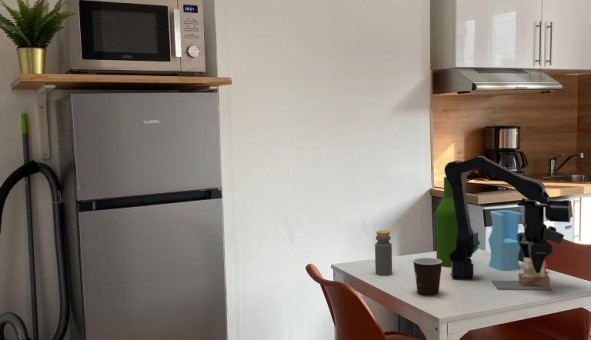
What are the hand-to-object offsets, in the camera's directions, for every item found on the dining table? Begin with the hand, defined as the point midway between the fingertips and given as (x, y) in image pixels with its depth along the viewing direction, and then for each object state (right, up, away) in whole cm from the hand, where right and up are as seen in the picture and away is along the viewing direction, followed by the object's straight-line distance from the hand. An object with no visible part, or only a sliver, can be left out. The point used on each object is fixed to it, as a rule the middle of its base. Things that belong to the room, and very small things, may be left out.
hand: (533, 269), depth 175 cm
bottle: (-44, -5, +21) cm, 49 cm away
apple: (+8, -4, +16) cm, 19 cm away
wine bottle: (-18, -4, +31) cm, 36 cm away
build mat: (-4, -5, +1) cm, 7 cm away
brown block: (0, -5, 0) cm, 5 cm away
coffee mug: (-34, -7, -2) cm, 34 cm away
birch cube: (0, -2, 0) cm, 2 cm away
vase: (0, -4, +24) cm, 24 cm away
